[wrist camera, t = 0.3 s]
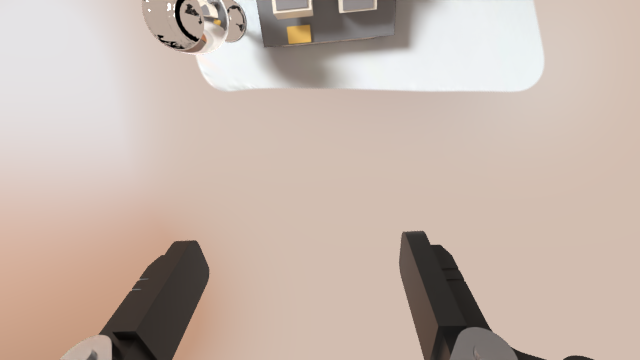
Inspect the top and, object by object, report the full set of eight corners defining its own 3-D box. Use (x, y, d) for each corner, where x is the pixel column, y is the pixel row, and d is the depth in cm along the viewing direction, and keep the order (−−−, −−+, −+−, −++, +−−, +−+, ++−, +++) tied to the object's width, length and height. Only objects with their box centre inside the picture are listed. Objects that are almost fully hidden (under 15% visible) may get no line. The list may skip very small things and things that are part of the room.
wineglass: (258, 6, 30) (220, -4, 20) (242, 57, 33) (201, 71, 22) (208, -22, 29) (140, -50, 18) (195, 32, 31) (129, 35, 21)
